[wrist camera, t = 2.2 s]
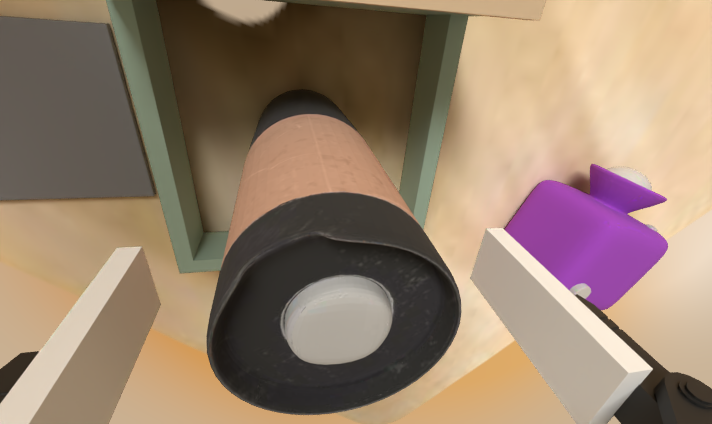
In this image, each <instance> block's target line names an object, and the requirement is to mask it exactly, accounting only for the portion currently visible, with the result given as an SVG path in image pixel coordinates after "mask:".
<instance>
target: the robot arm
mask: <svg viewBox="0 0 712 424" xmlns="http://www.w3.org/2000/svg"><path fill="white" fill-rule="evenodd" d="M470 279H471V280H472V281H473V283H474V284H475V285H476V287H477V288H478V290H479V291H480V292H481V294H482V295H483V296H484V298H485V299H486V301H487V302H488V303H489V305H490V306H491V307H492V309H493V310H494V311H495V313H496V314H497V316H498V317H499V318H500V320H501V321H502V322H503V324H504V325H505V327H506V328H507V329H508V331H509V332H510V333H511V335H512V336H513V337H514V339H515V340H516V342H517V343H518V344H519V346H520V347H521V348H522V350H523V351H524V353H525V354H526V355H527V356H528V358H529V359H530V361H531V362H532V363H533V365H534V366H535V368H536V369H537V370H538V372H539V373H540V374H541V375H542V377H543V378H544V380H545V381H546V383H547V384H548V385H549V386H550V388H551V389H552V391H553V392H554V394H555V395H556V396H557V398H558V399H559V400H560V402H561V403H562V404H563V406H564V407H565V409H566V410H567V411H568V413H569V414H570V415H571V417H572V418H573V419H574V421H575V422H576V424H607V423H608V422H609V420H610V419H611V418H612V417H613V416H615V417H616V418H617V419H618V420H619V422H620V423H621V424H712V389H711V388H710V387H708V386H707V385H705V384H704V383H702V382H701V381H699V380H697V379H695V378H692V377H691V376H688V375H685V374H681V373H678V372H676V373H670V372H669V371H667V370H666V369H665V368H664V367H663V366H661V365H660V364H659V363H658V362H657V361H656V360H655V359H654V358H653V357H651V356H650V355H649V354H648V353H647V352H646V351H645V350H643V348H641V347H640V346H639V345H638V344H637V343H636V342H635V341H634V340H632V338H631V337H629V336H628V335H627V334H626V333H625V332H624V331H623V330H620V329H619V327H618V326H617V325H616V324H615V323H614V322H613V321H612V320H611V319H608V317H607V316H606V315H605V314H604V313H603V312H602V311H601V310H600V309H599V308H597V307H596V306H595V305H594V304H592V303H591V302H589V301H588V300H586V299H584V298H583V297H581V296H579V295H578V294H576V295H573V294H572V293H571V292H570V291H569V290H568V289H567V288H566V287H565V286H564V285H563V284H562V283H561V282H560V281H558V280H557V279H556V278H555V277H554V276H553V275H552V274H551V273H550V272H549V271H548V270H547V269H546V268H545V267H544V266H542V265H541V264H540V263H539V262H538V261H537V260H536V259H535V258H534V257H533V256H532V255H531V254H530V253H529V252H528V251H526V250H525V249H524V248H523V247H522V246H521V245H520V244H519V243H518V242H517V241H516V240H515V239H514V238H513V237H511V236H510V235H509V234H508V233H507V232H506V231H505V230H504V229H503V228H488V229H486V230H485V234H484V237H483V240H482V243H481V246H480V249H479V252H478V255H477V259H476V262H475V265H474V268H473V271H472V274H471V277H470ZM160 306H161V303H160V300H159V297H158V294H157V291H156V288H155V285H154V282H153V279H152V275H151V272H150V269H149V266H148V263H147V260H146V257H145V254H144V251H143V248H142V246H141V247H121V248H116V250H115V251H114V252H113V254H112V255H111V256H110V258H109V259H108V260H107V262H106V263H105V264H104V266H103V267H102V268H101V270H100V271H99V272H98V274H97V275H96V276H95V278H94V279H93V280H92V282H91V283H90V284H89V286H88V287H87V288H86V290H85V291H84V292H83V294H82V295H81V296H80V298H79V299H78V300H77V302H76V303H75V304H74V306H73V307H72V309H71V310H70V311H69V313H68V314H67V316H66V317H65V318H64V319H63V321H62V322H61V323H60V325H59V326H58V327H57V329H56V330H55V331H54V333H53V334H52V335H51V337H50V338H49V340H48V341H47V342H46V343H45V345H44V346H43V347H42V349H41V350H40V351H37V352H27V353H20V354H19V355H18V356H17V357H15V358H14V359H13V360H11V361H10V362H9V363H8V364H6V365H5V366H4V367H3V368H1V369H0V424H109V422H110V419H111V417H112V415H113V412H114V410H115V408H116V406H117V403H118V401H119V399H120V397H121V394H122V392H123V390H124V387H125V385H126V383H127V381H128V378H129V376H130V374H131V371H132V369H133V367H134V365H135V362H136V360H137V358H138V356H139V353H140V351H141V349H142V346H143V344H144V342H145V340H146V337H147V335H148V333H149V331H150V328H151V326H152V324H153V321H154V319H155V317H156V315H157V312H158V310H159V308H160Z"/></svg>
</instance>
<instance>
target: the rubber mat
mask: <svg viewBox="0 0 712 424" xmlns="http://www.w3.org/2000/svg"><path fill="white" fill-rule="evenodd" d="M155 194H156V193H155V189H154V186H153V182H152V178H151V175H150V171H149V167H148V164H147V160H146V157H145V153H144V149H143V146H142V142H141V138H140V135H139V131H138V127H137V124H136V120H135V117H134V113H133V109H132V106H131V102H130V98H129V95H128V91H127V87H126V84H125V80H124V77H123V73H122V69H121V66H120V62H119V58H118V55H117V51H116V48H115V44H114V40H113V37H112V33H111V29H110V26H109V24H104V23H90V22H76V21H62V20H48V19H34V18H20V17H6V16H0V200H26V199H63V198H101V197H138V196H155Z"/></svg>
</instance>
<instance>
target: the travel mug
mask: <svg viewBox="0 0 712 424" xmlns="http://www.w3.org/2000/svg"><path fill="white" fill-rule="evenodd" d="M460 318H461V299H460V294H459V290H458V287H457V285H456V283H455V280H454V278H453V276H452V274H451V272H450V270H449V269H448V267H447V266H446V264H445V263H444V261H443V260H442V258H441V257H440V255H439V253H438V252H437V250H436V249H435V247H434V246H433V244H432V243H431V241H430V240H429V238H428V237H427V235H426V234H425V232H424V230H423V229H422V227H421V226H420V224H419V223H418V221H417V220H416V218H415V217H414V215H413V214H412V212H411V211H410V209H409V207H408V206H407V204H406V203H405V201H404V200H403V198H402V197H401V195H400V194H399V192H398V191H397V189H396V187H395V186H394V184H393V183H392V181H391V180H390V178H389V177H388V175H387V174H386V172H385V171H384V169H383V168H382V166H381V164H380V163H379V161H378V160H377V158H376V157H375V155H374V154H373V152H372V151H371V149H370V148H369V146H368V145H367V143H366V142H365V140H364V139H363V137H362V136H361V135H360V134H359V132H358V131H357V130H356V129H355V128H354V126H353V125H352V124H351V123H350V121H349V120H348V119H347V118H346V116H345V115H344V114H343V113H342V112H341V110H340V109H339V108H338V107H337V106H336V105H335V104H334V103H333V102H332V101H331V100H330V99H328V98H327V97H325V96H323V95H321V94H319V93H317V92H313V91H309V90H294V91H289V92H286V93H284V94H282V95H280V96H278V97H276V98H275V99H274V100H273V101H271V102H270V104H269V105H268V106H267V107H266V109H265V110H264V112H263V113H262V115H261V118H260V120H259V123H258V126H257V128H256V131H255V134H254V137H253V140H252V143H251V146H250V148H249V151H248V154H247V157H246V160H245V164H244V168H243V173H242V177H241V182H240V186H239V190H238V195H237V199H236V204H235V208H234V212H233V217H232V221H231V226H230V230H229V234H228V239H227V243H226V248H225V252H224V256H223V261H222V265H221V270H220V274H219V278H218V283H217V287H216V291H215V296H214V300H213V305H212V309H211V313H210V318H209V324H208V330H207V354H208V358H209V361H210V365H211V368H212V370H213V371H214V373H215V376H216V377H217V378H218V380H219V381H220V382H221V384H222V385H223V386H224V387H225V388H226V389H227V390H229V391H230V392H231V393H232V394H234V395H235V396H237V397H238V398H240V399H241V400H243V401H245V402H247V403H249V404H251V405H254V406H256V407H259V408H262V409H266V410H270V411H274V412H279V413H286V414H295V415H319V414H330V413H337V412H343V411H348V410H352V409H356V408H360V407H363V406H366V405H369V404H372V403H375V402H377V401H380V400H382V399H385V398H387V397H389V396H391V395H393V394H395V393H397V392H399V391H401V390H402V389H404V388H406V387H408V386H409V385H411V384H412V383H413V382H415V381H416V380H418V379H419V378H420V377H422V376H423V375H424V374H425V373H427V372H428V371H429V370H430V369H431V368H432V367H433V366H434V365H435V364H436V363H437V362H438V361H439V360H440V359H441V357H442V356H443V355H444V354H445V352H446V351H447V349H448V348H449V346H450V345H451V343H452V341H453V339H454V337H455V335H456V333H457V330H458V327H459V324H460Z"/></svg>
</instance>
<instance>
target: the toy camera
mask: <svg viewBox="0 0 712 424" xmlns="http://www.w3.org/2000/svg"><path fill="white" fill-rule="evenodd" d="M665 201H667V199H666V198H665V197H663V196H661V195H659V194H657V193H655V192H653V191H652V187H651V183H650V182H649V180H648V179H647V177H646V176H644V175H643V174H642V173H641V172H639V171H637V170H634V169H631V168H628V167H613V168H608V169H604V168H602V167H600V166H598V165H595V164H591V166H590V194H587V193H585V192H583V191H580V190H578V189H575V188H573V187H571V186H568V185H566V184H563V183H560V182H557V181H552V180H545V181H542V182H541V183H539V184H538V185H537V186H536V187H535V188H534V190H533V191H532V192H531V194H530V195H529V196H528V198H527V199H526V200H525V202H524V203H523V204H522V206H521V207H520V209H519V210H518V211H517V213H516V214H515V215H514V217H513V218H512V220H511V221H510V222H509V224H508V225H507V227H506V228H505V229H504V230H505V231H506V232H507V233H508V234H509V235H510V236H511V237H513V238H514V239H515V240H516V241H517V242H518V243H519V244H520V245H521V246H522V247H523V248H524V249H525V250H526V251H528V252H529V253H530V254H531V255H532V256H533V257H534V258H535V259H536V260H537V261H538V262H539V263H540V264H541V265H542V266H544V267H545V268H546V269H547V270H548V271H549V272H550V273H551V274H552V275H553V276H554V277H555V278H556V279H557V280H558V281H560V282H561V283H562V284H563V285H564V286H565V287H566V288H567V289H568V290H569V291H570V292H571V293H572V294H573V295H576V294H578V295H579V296H581V297H583V298H584V299H586V300H588V301H589V302H591V303H592V304H594V305H595V306H596V307H597V308H599V309H600V310H605V309H608V308H609V307H611V306H612V305H613V304H614V303H616V302H617V301H618V300H619V299H620V298H621V297H622V296H623V295H624V294H625V293H626V292H627V291H628V290H629V289H630V288H631V287H633V286H634V285H635V284H636V283H637V282H638V281H639V280H640V279H641V278H642V277H643V276H644V275H645V274H646V273H647V272H648V271H649V270H650V269H651V268H652V267H653V266H654V265H655V264H656V263H657V262H658V261H659V260H660V258H661V257H662V256H663V255H664V254H665V252H666V251H667V248H668V243H667V241H666V240H665V239H664V238H663V237H662V236H661V235H660V234H659V233H657V229H656V228H655V227H653V226H651V225H645V224H643V223H641V222H640V221H638V220H636V219H634V218H633V217H631V216H629V215H627V214H628V213H630V212H633V211H636V210H640V209H643V208H647V207H651V206H654V205H657V204H660V203H663V202H665Z"/></svg>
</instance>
